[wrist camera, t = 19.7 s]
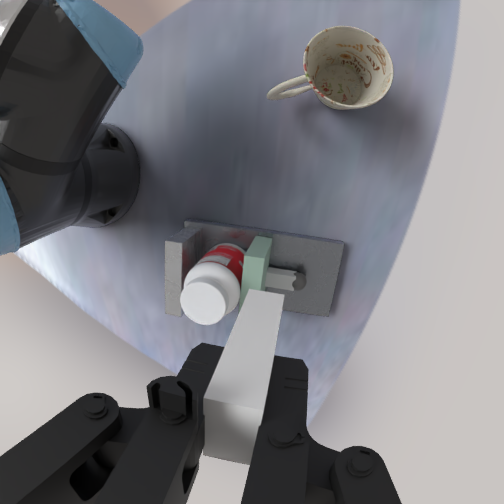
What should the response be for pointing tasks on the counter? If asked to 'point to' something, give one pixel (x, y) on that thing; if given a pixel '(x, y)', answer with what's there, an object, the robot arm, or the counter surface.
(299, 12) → the counter surface
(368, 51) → the mug
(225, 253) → the pill bottle
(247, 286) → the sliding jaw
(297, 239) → the vise base
